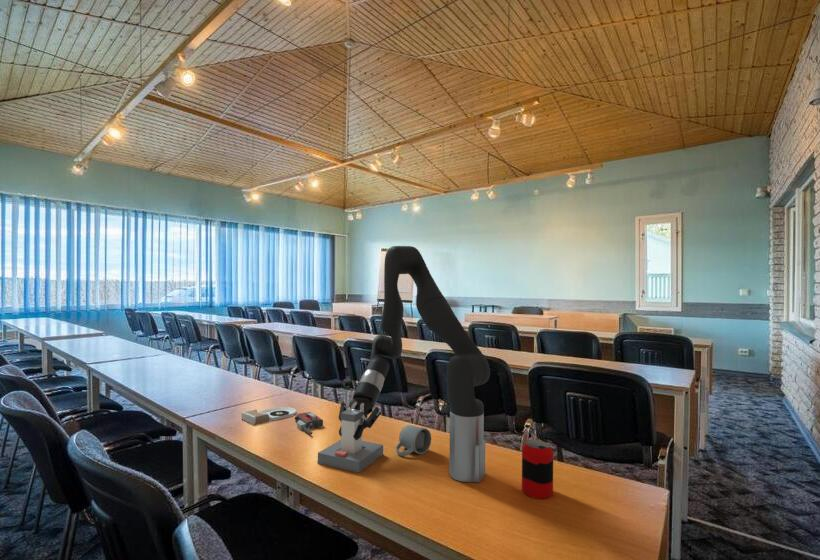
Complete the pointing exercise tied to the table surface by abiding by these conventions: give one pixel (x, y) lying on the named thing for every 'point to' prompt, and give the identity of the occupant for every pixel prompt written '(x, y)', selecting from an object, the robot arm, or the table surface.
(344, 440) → the plug
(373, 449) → the socket
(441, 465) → the table surface
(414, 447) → the ceramic mug
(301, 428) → the walkie-talkie
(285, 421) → the table surface
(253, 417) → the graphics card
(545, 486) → the soda can
